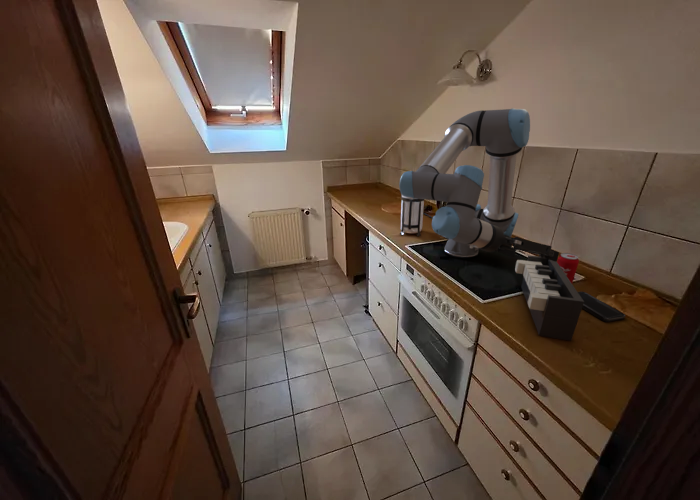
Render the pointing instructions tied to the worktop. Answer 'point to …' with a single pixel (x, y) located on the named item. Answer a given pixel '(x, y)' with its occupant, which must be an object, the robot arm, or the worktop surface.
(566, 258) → the beverage can
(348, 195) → the worktop surface
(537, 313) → the piano
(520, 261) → the key far
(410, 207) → the coffee press
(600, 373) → the worktop surface
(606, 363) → the worktop surface
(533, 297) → the key near
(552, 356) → the worktop surface
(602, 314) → the phone
